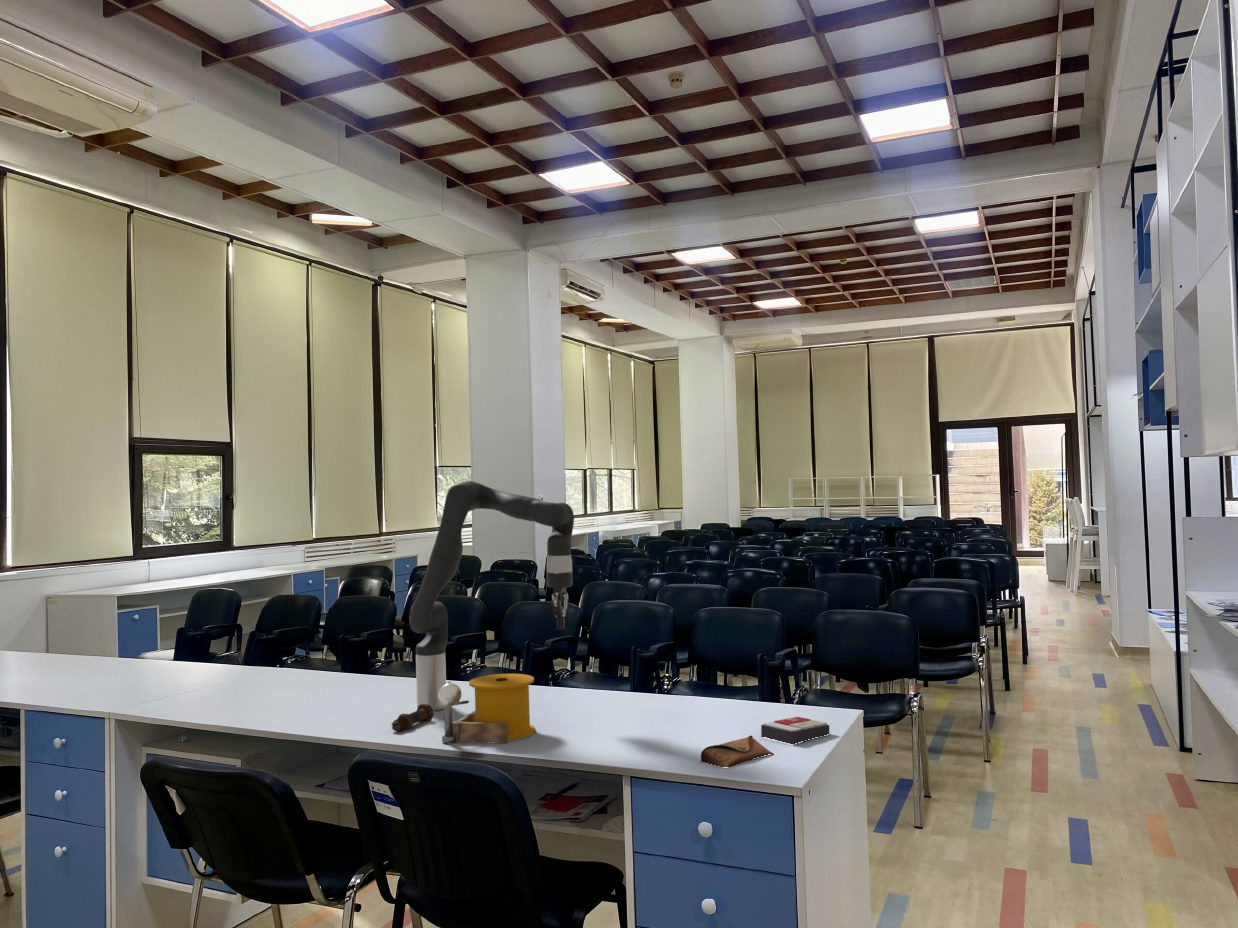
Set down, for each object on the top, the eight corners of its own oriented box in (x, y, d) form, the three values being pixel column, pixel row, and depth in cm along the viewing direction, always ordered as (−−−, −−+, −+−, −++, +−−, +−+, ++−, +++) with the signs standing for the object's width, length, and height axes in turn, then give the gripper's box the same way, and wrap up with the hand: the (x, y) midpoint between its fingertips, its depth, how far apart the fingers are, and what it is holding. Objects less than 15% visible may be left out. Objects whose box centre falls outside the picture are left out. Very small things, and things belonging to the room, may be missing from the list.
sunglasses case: (725, 768, 209) (714, 741, 212) (708, 778, 213) (697, 751, 216) (776, 753, 220) (765, 727, 223) (758, 763, 225) (747, 737, 228)
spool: (482, 724, 259) (480, 672, 260) (542, 725, 257) (540, 672, 257) (461, 741, 242) (459, 685, 242) (525, 742, 239) (524, 685, 239)
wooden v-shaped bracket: (464, 750, 232) (463, 731, 232) (437, 733, 251) (437, 715, 251) (508, 742, 238) (508, 723, 239) (479, 726, 257) (479, 709, 257)
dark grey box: (830, 721, 237) (792, 729, 227) (830, 738, 236) (792, 746, 227) (797, 715, 245) (760, 721, 236) (797, 731, 245) (760, 738, 236)
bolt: (393, 739, 254) (425, 724, 268) (405, 731, 252) (436, 717, 266) (384, 720, 255) (416, 707, 269) (396, 712, 253) (428, 699, 267)
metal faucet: (441, 745, 238) (439, 685, 238) (436, 742, 241) (434, 682, 242) (472, 740, 242) (471, 680, 243) (467, 737, 246) (465, 678, 247)
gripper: (552, 568, 271) (553, 626, 270) (541, 572, 258) (542, 632, 257) (576, 568, 270) (577, 626, 269) (567, 572, 257) (568, 633, 256)
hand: (560, 629), depth 263 cm, fingers closed
